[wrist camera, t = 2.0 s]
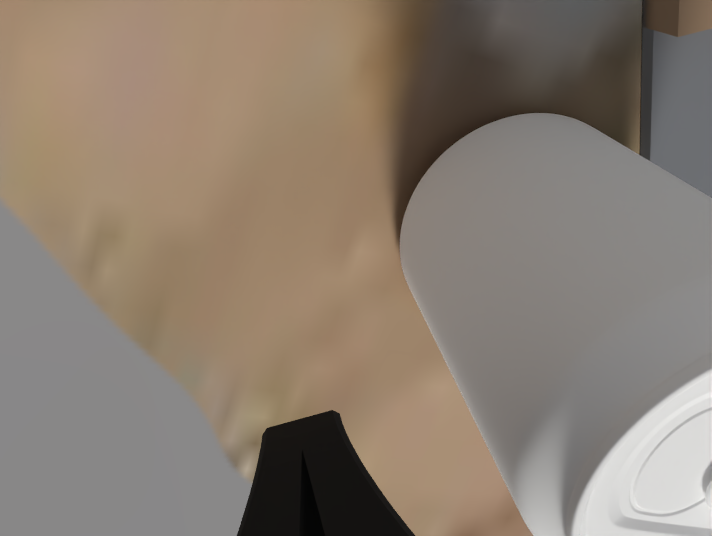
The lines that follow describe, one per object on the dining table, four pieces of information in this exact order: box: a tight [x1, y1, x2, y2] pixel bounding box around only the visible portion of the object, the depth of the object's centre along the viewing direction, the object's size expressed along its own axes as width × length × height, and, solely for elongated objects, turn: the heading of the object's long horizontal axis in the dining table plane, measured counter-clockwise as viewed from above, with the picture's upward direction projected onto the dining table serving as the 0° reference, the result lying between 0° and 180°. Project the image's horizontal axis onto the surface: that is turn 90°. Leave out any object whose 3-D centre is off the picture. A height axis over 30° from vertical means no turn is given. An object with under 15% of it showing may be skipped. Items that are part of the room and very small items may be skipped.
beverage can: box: [400, 113, 712, 536], centre depth 17 cm, size 8×8×12 cm
